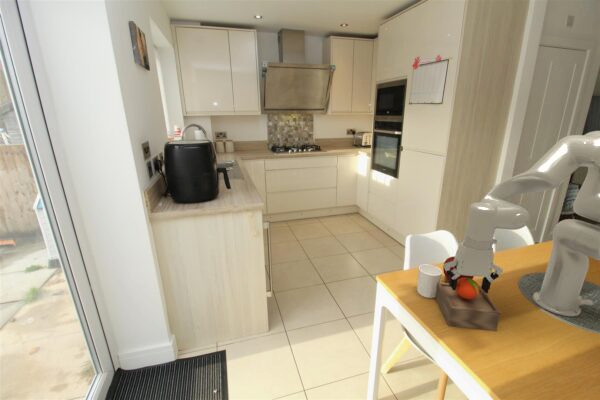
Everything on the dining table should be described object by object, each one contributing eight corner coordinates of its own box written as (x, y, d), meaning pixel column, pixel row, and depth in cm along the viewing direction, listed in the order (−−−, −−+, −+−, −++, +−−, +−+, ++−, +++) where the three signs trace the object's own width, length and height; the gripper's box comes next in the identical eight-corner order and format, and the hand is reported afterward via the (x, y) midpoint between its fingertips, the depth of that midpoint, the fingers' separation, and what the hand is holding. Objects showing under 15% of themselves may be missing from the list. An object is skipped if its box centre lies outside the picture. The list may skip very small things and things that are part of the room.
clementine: (485, 304, 90) (489, 285, 87) (466, 307, 88) (470, 288, 86) (466, 289, 97) (469, 271, 95) (448, 292, 96) (452, 274, 94)
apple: (435, 282, 112) (439, 256, 109) (449, 273, 118) (453, 249, 115) (464, 296, 103) (469, 268, 100) (477, 286, 109) (482, 259, 106)
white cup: (440, 300, 101) (444, 276, 98) (417, 297, 103) (421, 274, 100) (434, 287, 108) (438, 265, 106) (413, 285, 110) (416, 263, 107)
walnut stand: (476, 302, 100) (479, 286, 98) (496, 330, 87) (500, 312, 85) (435, 298, 102) (437, 282, 100) (448, 325, 89) (451, 307, 87)
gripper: (501, 238, 89) (491, 285, 94) (444, 235, 92) (437, 280, 97) (514, 249, 82) (503, 298, 87) (452, 245, 85) (444, 293, 89)
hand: (468, 289), depth 92 cm, fingers open, 9 cm apart
